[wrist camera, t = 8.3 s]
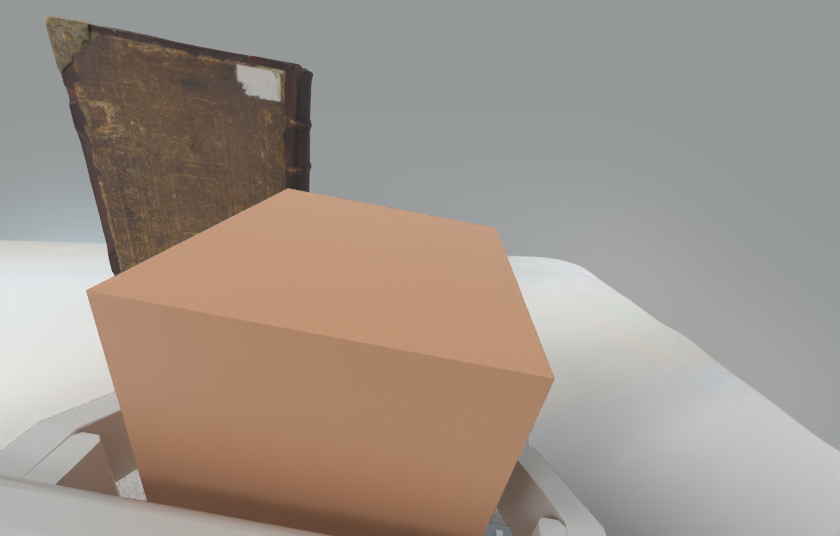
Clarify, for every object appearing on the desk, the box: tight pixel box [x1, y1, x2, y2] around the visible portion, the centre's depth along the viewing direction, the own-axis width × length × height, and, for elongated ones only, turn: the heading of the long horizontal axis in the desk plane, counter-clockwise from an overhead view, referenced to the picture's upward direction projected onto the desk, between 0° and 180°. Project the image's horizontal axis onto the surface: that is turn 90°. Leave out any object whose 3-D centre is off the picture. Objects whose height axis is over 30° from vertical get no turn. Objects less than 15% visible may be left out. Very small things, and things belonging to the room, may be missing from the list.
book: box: [45, 16, 313, 276], centre depth 32 cm, size 17×7×25 cm, turn 93°
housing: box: [86, 188, 554, 536], centre depth 10 cm, size 6×6×11 cm
